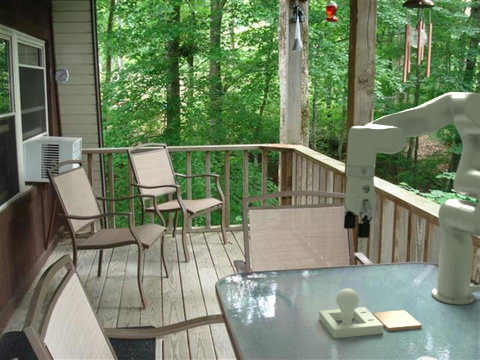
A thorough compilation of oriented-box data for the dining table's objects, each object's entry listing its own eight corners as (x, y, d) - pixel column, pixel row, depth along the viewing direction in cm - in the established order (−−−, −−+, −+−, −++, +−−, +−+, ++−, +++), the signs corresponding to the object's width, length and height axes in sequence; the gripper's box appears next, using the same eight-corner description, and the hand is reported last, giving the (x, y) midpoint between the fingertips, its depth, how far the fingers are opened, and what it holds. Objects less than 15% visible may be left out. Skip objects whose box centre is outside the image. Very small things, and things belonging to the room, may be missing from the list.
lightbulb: (361, 326, 146) (363, 289, 144) (350, 333, 141) (351, 295, 140) (343, 319, 150) (344, 283, 148) (331, 326, 146) (332, 289, 144)
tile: (403, 313, 154) (404, 309, 154) (421, 328, 145) (421, 324, 144) (372, 315, 152) (372, 312, 152) (388, 331, 143) (388, 327, 143)
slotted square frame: (364, 315, 153) (364, 306, 153) (382, 333, 141) (383, 324, 141) (319, 319, 150) (319, 310, 150) (334, 338, 139) (334, 329, 138)
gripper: (387, 176, 134) (382, 241, 137) (360, 167, 151) (356, 225, 153) (359, 176, 133) (355, 241, 135) (335, 167, 149) (332, 225, 152)
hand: (356, 232), depth 144 cm, fingers open, 9 cm apart
